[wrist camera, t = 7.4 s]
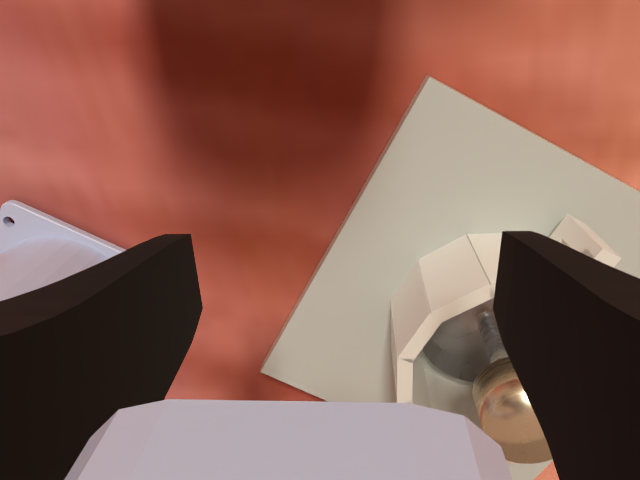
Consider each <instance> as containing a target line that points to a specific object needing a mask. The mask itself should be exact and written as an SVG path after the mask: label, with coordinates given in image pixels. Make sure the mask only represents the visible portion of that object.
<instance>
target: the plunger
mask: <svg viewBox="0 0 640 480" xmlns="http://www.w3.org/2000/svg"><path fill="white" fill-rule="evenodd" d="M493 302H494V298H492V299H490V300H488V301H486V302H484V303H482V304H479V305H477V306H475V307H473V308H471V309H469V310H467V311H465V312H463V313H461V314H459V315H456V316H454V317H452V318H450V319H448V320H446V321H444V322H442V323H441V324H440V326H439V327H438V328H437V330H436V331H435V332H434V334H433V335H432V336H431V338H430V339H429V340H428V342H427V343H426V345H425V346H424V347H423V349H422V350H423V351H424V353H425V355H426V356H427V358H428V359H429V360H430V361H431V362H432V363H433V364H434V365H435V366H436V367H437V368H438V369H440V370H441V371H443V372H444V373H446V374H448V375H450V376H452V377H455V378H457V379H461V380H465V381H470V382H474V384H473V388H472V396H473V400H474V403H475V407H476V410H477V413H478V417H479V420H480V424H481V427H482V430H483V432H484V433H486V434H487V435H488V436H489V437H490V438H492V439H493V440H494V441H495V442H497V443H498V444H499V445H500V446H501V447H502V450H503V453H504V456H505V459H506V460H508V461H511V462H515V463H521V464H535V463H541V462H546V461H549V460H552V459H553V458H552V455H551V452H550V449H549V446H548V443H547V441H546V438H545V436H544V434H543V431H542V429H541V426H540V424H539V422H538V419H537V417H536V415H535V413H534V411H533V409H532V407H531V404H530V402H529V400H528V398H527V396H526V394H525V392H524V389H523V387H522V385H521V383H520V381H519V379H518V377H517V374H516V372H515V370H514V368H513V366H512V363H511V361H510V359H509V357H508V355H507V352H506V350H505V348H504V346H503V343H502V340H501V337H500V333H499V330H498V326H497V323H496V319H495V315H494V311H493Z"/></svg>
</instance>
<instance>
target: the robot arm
mask: <svg viewBox="0 0 640 480" xmlns="http://www.w3.org/2000/svg"><path fill="white" fill-rule="evenodd" d="M9 217H10V218H12V219H13V220H14V223H12V222H10V220H9ZM202 308H203V307H202V301H201V295H200V289H199V283H198V276H197V270H196V264H195V258H194V252H193V245H192V239H191V234H165V235H161V236H158V237H155V238H152V239H150V240H148V241H145V242H143V243H141V244H139V245H136V246H134V247H132V248H130V249H128V250H125V249H123V248H121V247H119V246H116V245H114V244H112V243H110V242H108V241H105V240H103V239H101V238H99V237H97V236H94V235H92V234H90V233H88V232H85V231H83V230H81V229H79V228H77V227H74V226H72V225H70V224H68V223H65V222H63V221H61V220H59V219H57V218H54V217H52V216H50V215H48V214H46V213H43V212H41V211H39V210H37V209H34V208H32V207H30V206H28V205H26V204H23V203H21V202H19V201H16V200H9V201H7V202H6V203H4V204H2V206H1V209H0V480H512V477H511V474H510V471H509V468H508V465H507V462H506V459H505V456H504V453H503V450H502V447H501V446H500V445H499V444H498V443H497V442H495V441H494V440H493V439H492V438H490V437H489V436H488V435H487V434H486V433H484V432H483V431H482V430H481V429H480V428H478V427H477V426H476V425H475V424H474V423H472V422H471V421H470V420H469V419H468V418H466V417H465V416H464V415H460V414H455V413H451V412H446V411H442V410H437V409H433V408H428V407H424V406H419V405H415V404H410V403H376V402H313V401H250V400H187V399H167V400H164V398H165V396H166V394H167V392H168V390H169V388H170V386H171V384H172V382H173V380H174V378H175V376H176V374H177V372H178V370H179V368H180V366H181V364H182V362H183V360H184V358H185V356H186V354H187V352H188V349H189V347H190V345H191V343H192V341H193V338H194V335H195V332H196V329H197V325H198V322H199V319H200V315H201V312H202ZM493 311H494V315H495V319H496V323H497V326H498V330H499V333H500V337H501V340H502V343H503V346H504V348H505V350H506V352H507V355H508V357H509V359H510V361H511V363H512V366H513V368H514V370H515V372H516V374H517V377H518V379H519V381H520V383H521V385H522V387H523V389H524V392H525V394H526V396H527V398H528V400H529V402H530V404H531V407H532V409H533V411H534V413H535V415H536V417H537V419H538V422H539V424H540V426H541V429H542V431H543V434H544V436H545V438H546V441H547V443H548V446H549V449H550V452H551V455H552V458H553V461H554V464H555V467H556V470H557V473H558V476H559V479H560V480H640V278H637V277H635V276H632V275H630V274H627V273H625V272H623V271H620V270H618V269H616V268H613V267H611V266H609V265H607V264H604V263H602V262H600V261H598V260H596V259H594V258H591V257H589V256H587V255H585V254H583V253H581V252H579V251H577V250H575V249H572V248H570V247H568V246H566V245H564V244H562V243H560V242H558V241H556V240H553V239H551V238H549V237H547V236H544V235H542V234H539V233H536V232H533V231H502V238H501V246H500V254H499V262H498V270H497V278H496V286H495V294H494V302H493Z"/></svg>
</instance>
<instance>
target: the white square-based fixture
mask: <svg viewBox="0 0 640 480" xmlns="http://www.w3.org/2000/svg"><path fill="white" fill-rule="evenodd" d="M502 231H533V232H536V233H539V234H542V235H544V236H547V237H549V238H551V239H553V240H556V241H558V242H560V243H562V244H564V245H566V246H568V247H570V248H572V249H575V250H577V251H579V252H581V253H583V254H585V255H587V256H589V257H591V258H594V259H596V260H598V261H600V262H602V263H604V264H607V265H609V266H611V267H613V268H616V269H618V270H620V271H623V272H625V273H627V274H630V275H632V276H635V277H637V278H640V191H639V190H637V189H635V188H633V187H631V186H630V185H628V184H626V183H624V182H622V181H621V180H619V179H617V178H615V177H613V176H611V175H610V174H608V173H606V172H604V171H602V170H600V169H599V168H597V167H595V166H593V165H591V164H590V163H588V162H586V161H584V160H582V159H580V158H579V157H577V156H575V155H573V154H571V153H569V152H568V151H566V150H564V149H562V148H560V147H559V146H557V145H555V144H553V143H551V142H549V141H548V140H546V139H544V138H542V137H540V136H538V135H537V134H535V133H533V132H531V131H529V130H528V129H526V128H524V127H522V126H520V125H518V124H517V123H515V122H513V121H511V120H509V119H508V118H506V117H504V116H502V115H500V114H498V113H497V112H495V111H493V110H491V109H489V108H487V107H486V106H484V105H482V104H480V103H478V102H477V101H475V100H473V99H471V98H469V97H467V96H466V95H464V94H462V93H460V92H458V91H456V90H455V89H453V88H451V87H449V86H447V85H446V84H444V83H442V82H440V81H438V80H436V79H435V78H433V77H431V76H429V75H426V77H425V78H424V80H423V82H422V84H421V85H420V87H419V89H418V91H417V92H416V94H415V96H414V98H413V99H412V101H411V103H410V105H409V106H408V108H407V110H406V112H405V113H404V115H403V117H402V119H401V120H400V122H399V124H398V126H397V127H396V129H395V131H394V133H393V134H392V136H391V138H390V140H389V141H388V143H387V145H386V147H385V148H384V150H383V152H382V154H381V155H380V157H379V159H378V161H377V163H376V164H375V166H374V168H373V170H372V171H371V173H370V175H369V177H368V178H367V180H366V182H365V184H364V185H363V187H362V189H361V191H360V192H359V194H358V196H357V198H356V199H355V201H354V203H353V205H352V206H351V208H350V210H349V212H348V213H347V215H346V217H345V219H344V220H343V222H342V224H341V226H340V227H339V229H338V231H337V233H336V234H335V236H334V238H333V240H332V241H331V243H330V245H329V247H328V248H327V250H326V252H325V254H324V255H323V257H322V259H321V261H320V262H319V264H318V266H317V268H316V269H315V271H314V273H313V275H312V276H311V278H310V280H309V282H308V284H307V285H306V287H305V289H304V291H303V292H302V294H301V296H300V298H299V299H298V301H297V303H296V305H295V306H294V308H293V310H292V312H291V313H290V315H289V317H288V319H287V320H286V322H285V324H284V326H283V327H282V329H281V331H280V333H279V334H278V336H277V338H276V340H275V341H274V343H273V345H272V347H271V348H270V350H269V352H268V354H267V355H266V357H265V359H264V361H263V363H262V367H261V371H260V372H261V373H264V374H266V375H268V376H271V377H273V378H275V379H277V380H280V381H282V382H284V383H287V384H289V385H291V386H294V387H296V388H298V389H301V390H303V391H305V392H307V393H310V394H312V395H314V396H317V397H319V398H321V399H324V400H326V401H328V402H376V403H410V404H415V405H419V406H424V407H428V408H433V409H437V410H442V411H446V412H451V413H455V414H460V415H464V416H465V417H466V418H468V419H469V420H470V421H471V422H472V423H474V424H475V425H476V426H477V427H478V428H480V429H481V430H482V427H481V424H480V420H479V417H478V413H477V410H476V407H475V403H474V400H473V396H472V388H473V384H474V382H470V381H465V380H461V379H457V378H455V377H452V376H450V375H448V374H446V373H444V372H443V371H441V370H440V369H438V368H437V367H436V366H435V365H434V364H433V363H432V362H431V361H430V360H429V359H428V358H427V356H426V355H425V353H424V351H423V350H422V349H423V347H424V346H425V345H426V343H427V342H428V340H429V339H430V338H431V336H432V335H433V334H434V332H435V331H436V330H437V328H438V327H439V326H440V324H441V323H442V322H444V321H446V320H448V319H450V318H452V317H454V316H456V315H459V314H461V313H463V312H465V311H467V310H469V309H471V308H473V307H475V306H477V305H479V304H482V303H484V302H486V301H488V300H490V299H492V298H494V294H495V286H496V278H497V270H498V262H499V254H500V246H501V238H502ZM482 431H483V430H482ZM552 461H553V459H552V460H549V461H546V462H541V463H535V464H521V463H515V462H511V461H508V460H506V462H507V465H508V468H509V471H510V474H511V477H512V480H534V479H535V478H536V477H537V476H538V475H539V474H540V473H541V472H542V471H543V470H544V469H545V468H546V467H547V466H548V465H549V464H550V463H551V462H552Z"/></svg>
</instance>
